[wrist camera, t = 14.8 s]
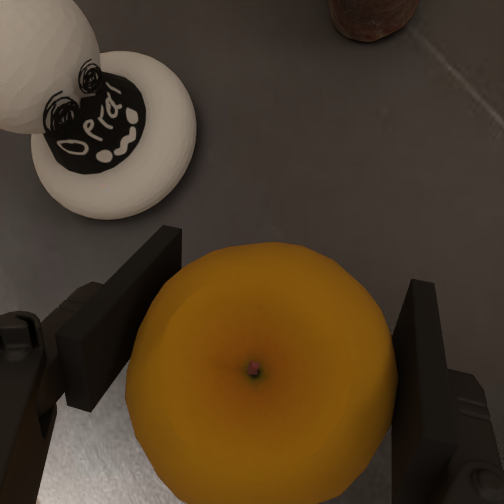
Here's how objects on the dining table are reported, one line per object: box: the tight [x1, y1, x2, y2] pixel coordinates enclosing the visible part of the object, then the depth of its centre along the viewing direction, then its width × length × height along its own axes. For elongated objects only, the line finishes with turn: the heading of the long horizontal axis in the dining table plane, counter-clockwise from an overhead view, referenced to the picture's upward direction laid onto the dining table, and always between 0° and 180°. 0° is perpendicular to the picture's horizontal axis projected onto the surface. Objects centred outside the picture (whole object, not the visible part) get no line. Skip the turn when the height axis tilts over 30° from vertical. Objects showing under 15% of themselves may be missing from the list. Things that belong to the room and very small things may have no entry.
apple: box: [125, 242, 399, 504], centre depth 15 cm, size 9×8×9 cm
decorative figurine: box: [0, 0, 197, 220], centre depth 31 cm, size 15×15×20 cm
